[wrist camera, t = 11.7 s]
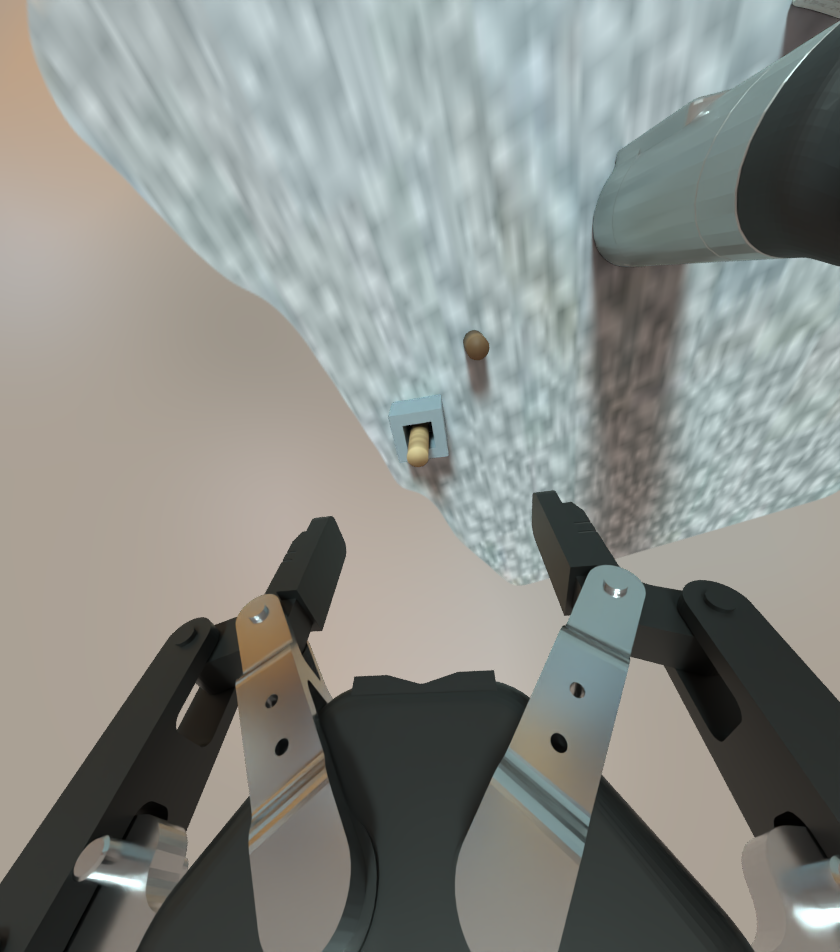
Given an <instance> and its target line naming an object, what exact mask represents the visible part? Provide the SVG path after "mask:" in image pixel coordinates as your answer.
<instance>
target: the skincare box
mask: <svg viewBox="0 0 840 952" xmlns="http://www.w3.org/2000/svg"><path fill="white" fill-rule="evenodd" d="M792 4H793V5H794V6H797V7H803V8H807V9H811V10H814V11H818V12H821V13H825V14H828V15H831V16H834V17H837V18H839V19H840V0H793V2H792Z"/></svg>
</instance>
